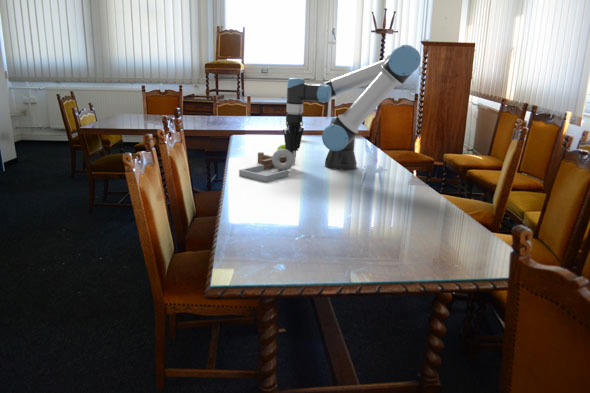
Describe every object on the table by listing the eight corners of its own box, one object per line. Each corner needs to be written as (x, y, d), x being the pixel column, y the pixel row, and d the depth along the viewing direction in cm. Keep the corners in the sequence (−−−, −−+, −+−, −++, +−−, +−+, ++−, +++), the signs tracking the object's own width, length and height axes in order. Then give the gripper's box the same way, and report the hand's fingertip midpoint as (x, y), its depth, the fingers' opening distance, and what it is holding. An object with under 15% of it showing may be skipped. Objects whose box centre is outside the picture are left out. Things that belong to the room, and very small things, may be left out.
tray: (288, 175, 207) (288, 170, 207) (265, 182, 196) (266, 176, 195) (262, 169, 216) (262, 164, 215) (239, 175, 204) (239, 169, 203)
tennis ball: (278, 160, 238) (278, 146, 236) (275, 157, 244) (275, 143, 242) (292, 159, 239) (292, 146, 237) (288, 156, 246) (289, 143, 244)
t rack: (293, 162, 233) (294, 152, 232) (264, 169, 216) (264, 159, 215) (274, 158, 240) (274, 149, 239) (244, 165, 223) (244, 155, 222)
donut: (293, 170, 218) (294, 148, 215) (293, 171, 215) (294, 149, 212) (271, 169, 218) (272, 147, 215) (271, 171, 215) (272, 149, 212)
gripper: (296, 111, 222) (294, 161, 229) (278, 113, 212) (276, 165, 219) (309, 113, 218) (306, 163, 225) (292, 115, 208) (289, 168, 215)
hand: (291, 164), depth 222 cm, fingers closed
